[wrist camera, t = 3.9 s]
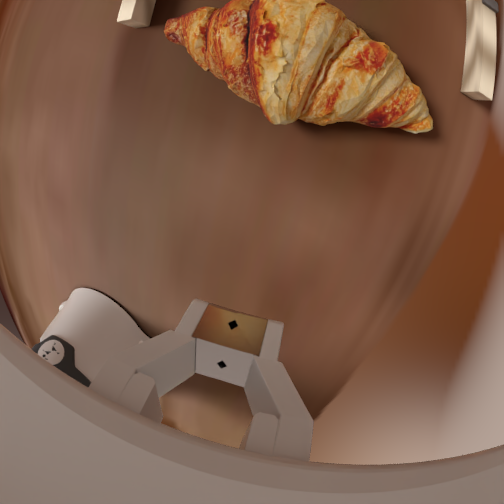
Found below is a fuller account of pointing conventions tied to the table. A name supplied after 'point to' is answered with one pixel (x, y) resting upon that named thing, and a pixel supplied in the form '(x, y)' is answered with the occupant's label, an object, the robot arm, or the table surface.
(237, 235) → the table surface
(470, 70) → the frame
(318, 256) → the table surface
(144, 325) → the table surface
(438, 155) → the table surface
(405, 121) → the croissant
